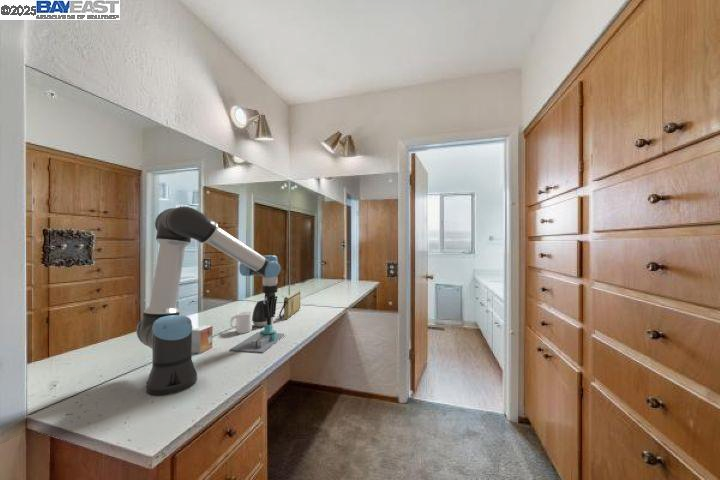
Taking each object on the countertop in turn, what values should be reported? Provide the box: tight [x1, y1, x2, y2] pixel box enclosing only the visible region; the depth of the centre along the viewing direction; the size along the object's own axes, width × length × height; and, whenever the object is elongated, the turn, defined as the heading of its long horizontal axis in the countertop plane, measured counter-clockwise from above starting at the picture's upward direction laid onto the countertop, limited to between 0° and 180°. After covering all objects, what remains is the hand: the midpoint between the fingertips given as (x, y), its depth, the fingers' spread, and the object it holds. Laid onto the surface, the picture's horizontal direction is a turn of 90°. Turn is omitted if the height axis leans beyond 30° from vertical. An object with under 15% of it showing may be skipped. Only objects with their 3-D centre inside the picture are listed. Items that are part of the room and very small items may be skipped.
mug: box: [229, 311, 253, 334], centre depth 161 cm, size 12×8×10 cm
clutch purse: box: [278, 290, 301, 320], centre depth 198 cm, size 30×7×15 cm, turn 174°
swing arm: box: [252, 334, 268, 348], centre depth 141 cm, size 15×2×3 cm, turn 170°
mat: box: [228, 331, 285, 354], centre depth 143 cm, size 26×17×1 cm, turn 171°
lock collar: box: [259, 324, 277, 341], centre depth 145 cm, size 2×8×8 cm, turn 81°
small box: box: [192, 324, 213, 354], centre depth 133 cm, size 8×6×10 cm
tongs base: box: [257, 329, 276, 348], centre depth 142 cm, size 18×3×3 cm, turn 171°
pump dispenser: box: [252, 300, 267, 328], centre depth 172 cm, size 10×10×15 cm
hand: (269, 330), depth 147 cm, fingers closed
